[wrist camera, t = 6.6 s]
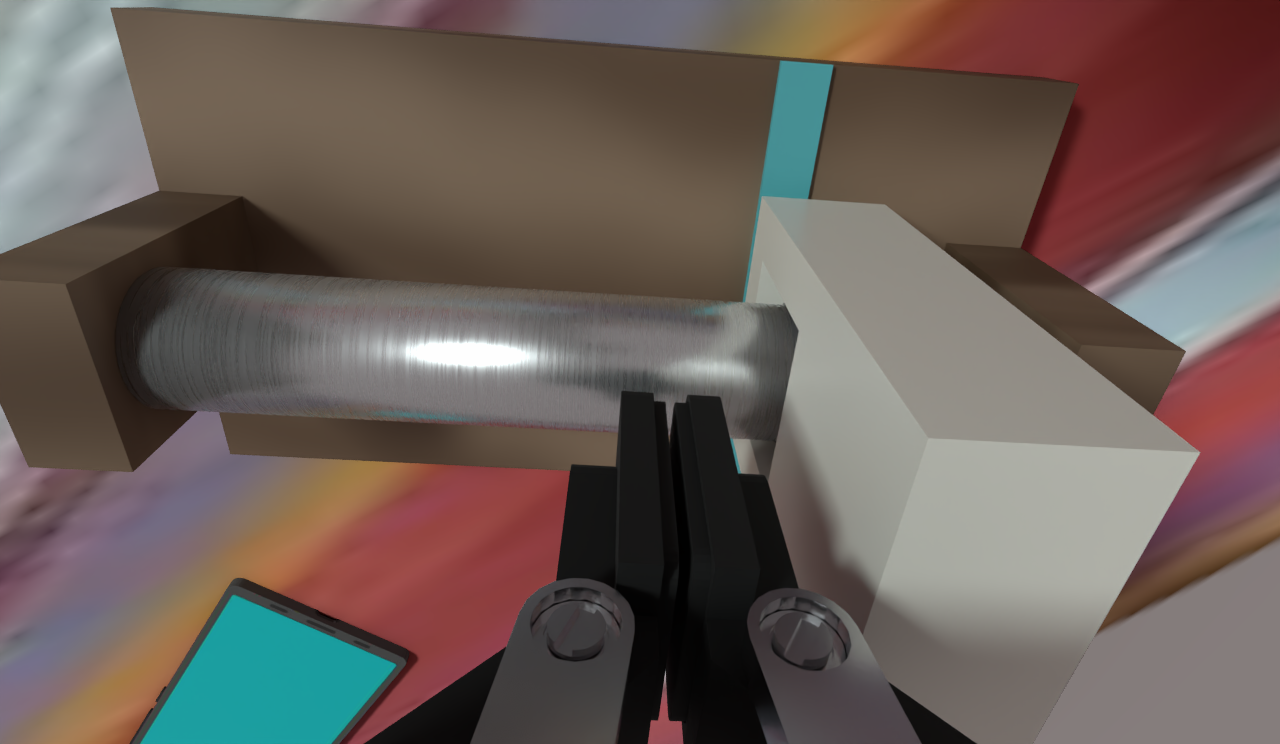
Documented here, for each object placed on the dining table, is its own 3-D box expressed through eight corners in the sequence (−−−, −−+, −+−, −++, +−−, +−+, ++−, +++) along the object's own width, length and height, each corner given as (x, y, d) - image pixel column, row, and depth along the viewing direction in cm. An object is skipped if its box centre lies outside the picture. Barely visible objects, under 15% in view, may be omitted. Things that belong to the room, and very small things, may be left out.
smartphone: (409, 661, 27) (265, 831, 32) (415, 643, 28) (273, 813, 33) (227, 582, 25) (107, 779, 30) (239, 565, 25) (119, 761, 31)
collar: (761, 196, 16) (928, 438, 7) (884, 204, 16) (1201, 452, 7) (727, 415, 19) (814, 781, 10) (831, 420, 19) (1008, 786, 10)
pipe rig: (152, 7, 16) (-177, 9, 10) (1044, 77, 17) (1303, 123, 11) (254, 426, 22) (92, 609, 15) (917, 460, 23) (1033, 645, 16)
